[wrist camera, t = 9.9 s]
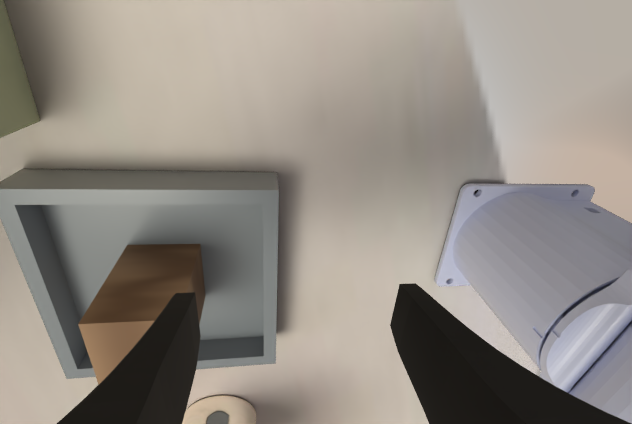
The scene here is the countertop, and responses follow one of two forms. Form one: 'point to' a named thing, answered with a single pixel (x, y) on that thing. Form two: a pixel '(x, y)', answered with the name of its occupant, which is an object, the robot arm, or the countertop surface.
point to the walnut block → (138, 299)
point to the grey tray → (141, 229)
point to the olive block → (13, 82)
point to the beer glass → (220, 411)
